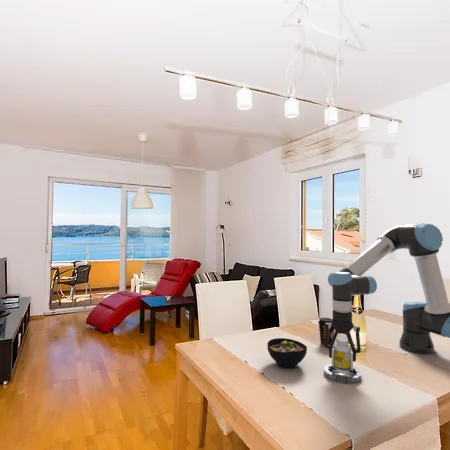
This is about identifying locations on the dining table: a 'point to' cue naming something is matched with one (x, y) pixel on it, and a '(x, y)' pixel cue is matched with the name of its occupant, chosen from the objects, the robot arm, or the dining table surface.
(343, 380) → the ring seat
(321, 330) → the coffee cup
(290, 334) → the dining table surface
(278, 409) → the dining table surface
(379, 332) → the dining table surface
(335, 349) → the pill bottle
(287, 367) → the bowl
